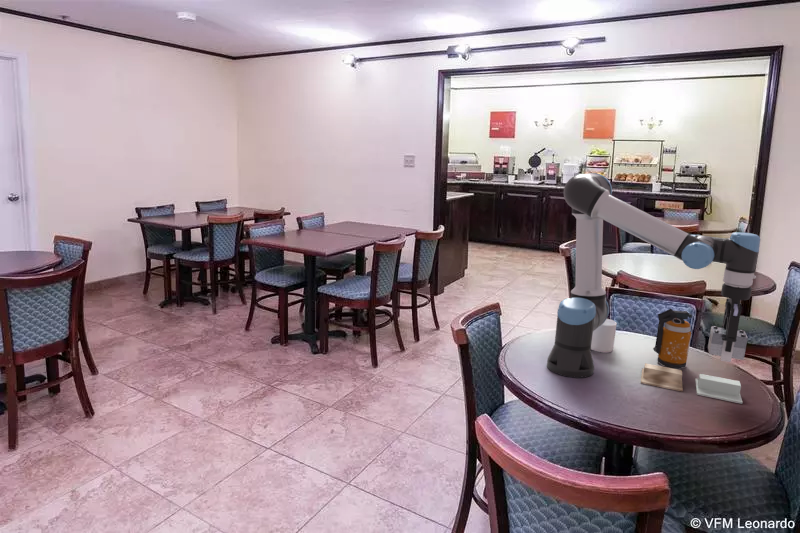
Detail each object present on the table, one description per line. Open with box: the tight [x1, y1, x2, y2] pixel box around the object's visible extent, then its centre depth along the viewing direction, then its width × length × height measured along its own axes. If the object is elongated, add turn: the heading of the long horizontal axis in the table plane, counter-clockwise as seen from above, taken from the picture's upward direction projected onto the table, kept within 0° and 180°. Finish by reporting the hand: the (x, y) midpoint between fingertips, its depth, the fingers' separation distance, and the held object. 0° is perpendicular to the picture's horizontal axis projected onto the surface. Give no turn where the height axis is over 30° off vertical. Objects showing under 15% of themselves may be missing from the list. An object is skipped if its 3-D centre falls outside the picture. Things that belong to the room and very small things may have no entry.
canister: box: [652, 308, 693, 370], centre depth 186 cm, size 9×11×20 cm
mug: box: [591, 318, 618, 354], centre depth 201 cm, size 9×12×11 cm
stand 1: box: [640, 362, 684, 392], centre depth 175 cm, size 12×12×4 cm
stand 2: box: [694, 373, 743, 405], centre depth 168 cm, size 12×12×4 cm
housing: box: [707, 325, 748, 361], centre depth 165 cm, size 9×6×7 cm
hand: (724, 356), depth 166 cm, fingers closed on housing, 6 cm apart
